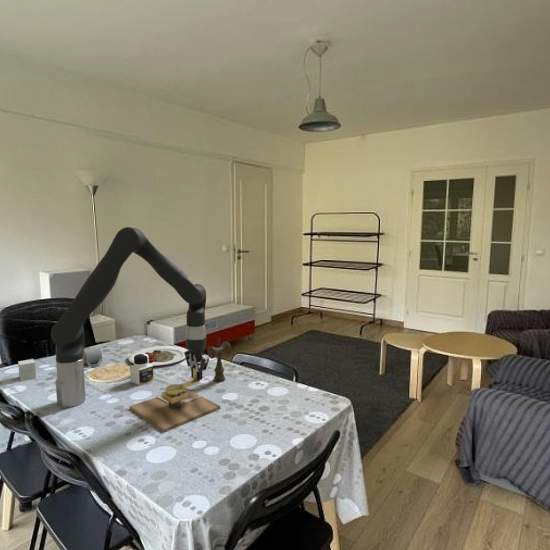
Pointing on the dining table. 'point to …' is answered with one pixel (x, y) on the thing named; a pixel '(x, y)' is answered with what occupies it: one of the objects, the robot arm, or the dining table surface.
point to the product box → (27, 369)
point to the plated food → (161, 355)
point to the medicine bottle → (141, 370)
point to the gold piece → (179, 390)
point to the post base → (174, 410)
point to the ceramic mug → (92, 356)
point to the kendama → (219, 358)
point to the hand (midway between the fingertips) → (196, 378)
